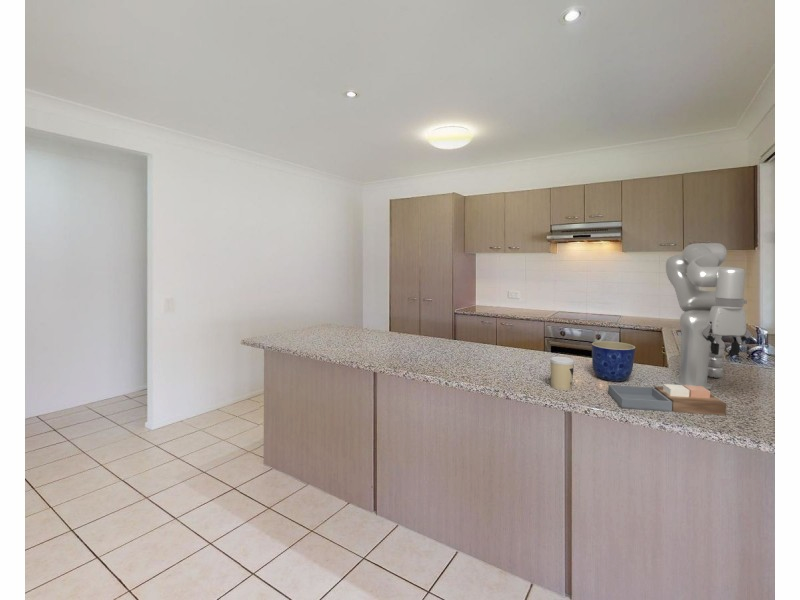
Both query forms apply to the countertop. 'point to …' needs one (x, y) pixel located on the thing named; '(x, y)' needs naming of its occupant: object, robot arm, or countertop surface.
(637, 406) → the tray
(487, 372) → the countertop surface
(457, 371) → the countertop surface
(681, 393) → the cream tile
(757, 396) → the countertop surface
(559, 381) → the coffee cup
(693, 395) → the terracotta tile
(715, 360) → the plastic bottle
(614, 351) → the planter
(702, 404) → the walnut board
